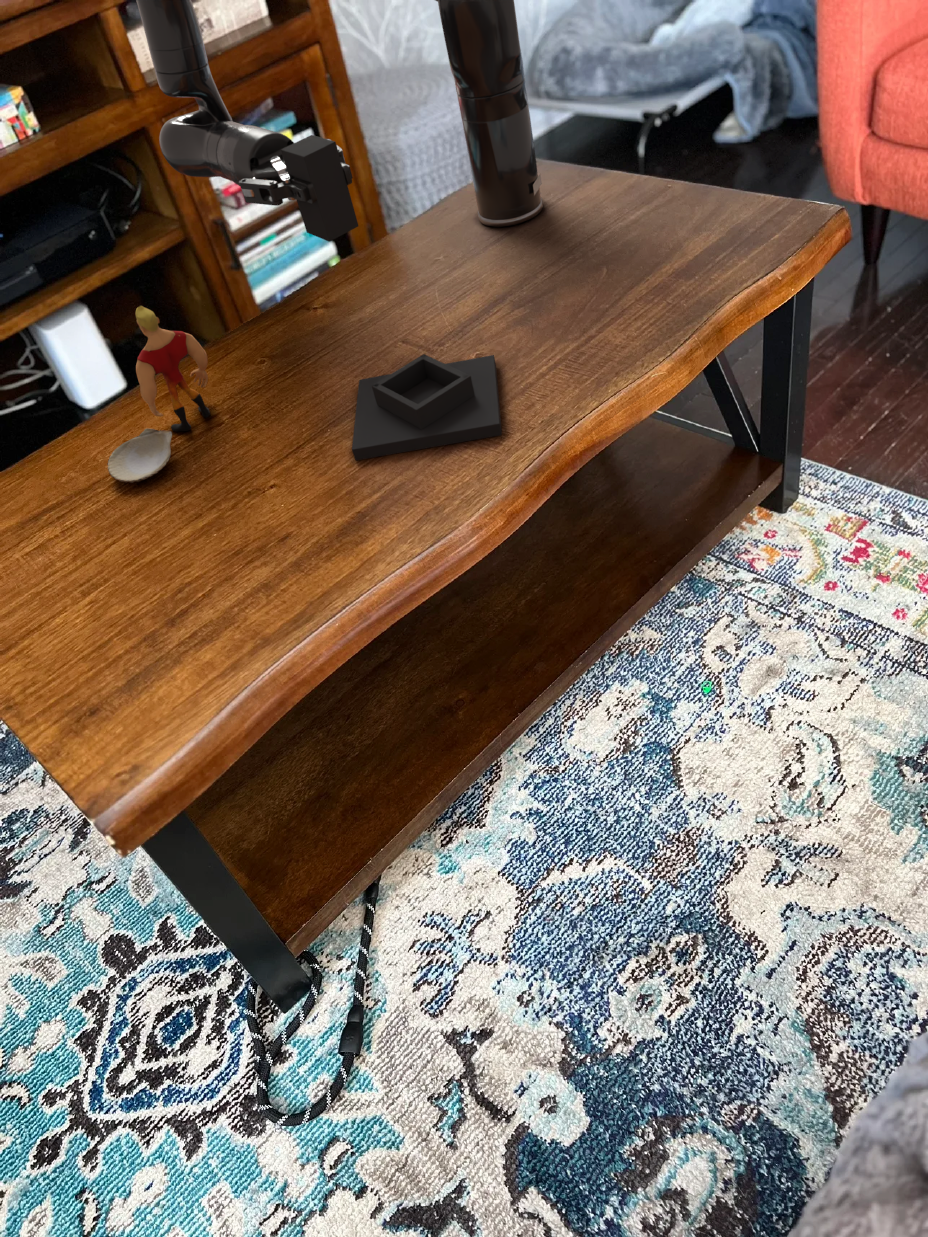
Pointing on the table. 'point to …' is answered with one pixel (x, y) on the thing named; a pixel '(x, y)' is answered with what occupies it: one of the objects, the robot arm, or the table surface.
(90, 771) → the table surface
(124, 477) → the scallop shell
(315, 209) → the black rectangular block
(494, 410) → the socket pad
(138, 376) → the action figure
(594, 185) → the table surface
